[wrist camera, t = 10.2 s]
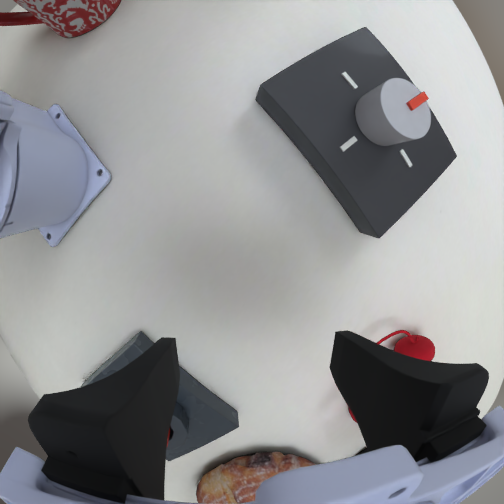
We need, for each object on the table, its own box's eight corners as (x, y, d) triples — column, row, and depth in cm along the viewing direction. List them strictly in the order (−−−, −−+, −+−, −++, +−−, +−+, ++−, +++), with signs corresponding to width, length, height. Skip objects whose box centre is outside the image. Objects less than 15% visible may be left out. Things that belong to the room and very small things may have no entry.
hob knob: (377, 156, 17) (409, 150, 13) (343, 107, 16) (370, 90, 12) (410, 130, 16) (443, 122, 13) (380, 85, 15) (408, 68, 12)
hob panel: (255, 99, 18) (260, 83, 15) (351, 41, 17) (366, 25, 14) (360, 232, 21) (380, 239, 18) (435, 158, 20) (458, 156, 17)
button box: (84, 381, 21) (68, 405, 17) (141, 330, 21) (126, 356, 17) (171, 447, 24) (167, 473, 20) (237, 411, 23) (240, 441, 19)
